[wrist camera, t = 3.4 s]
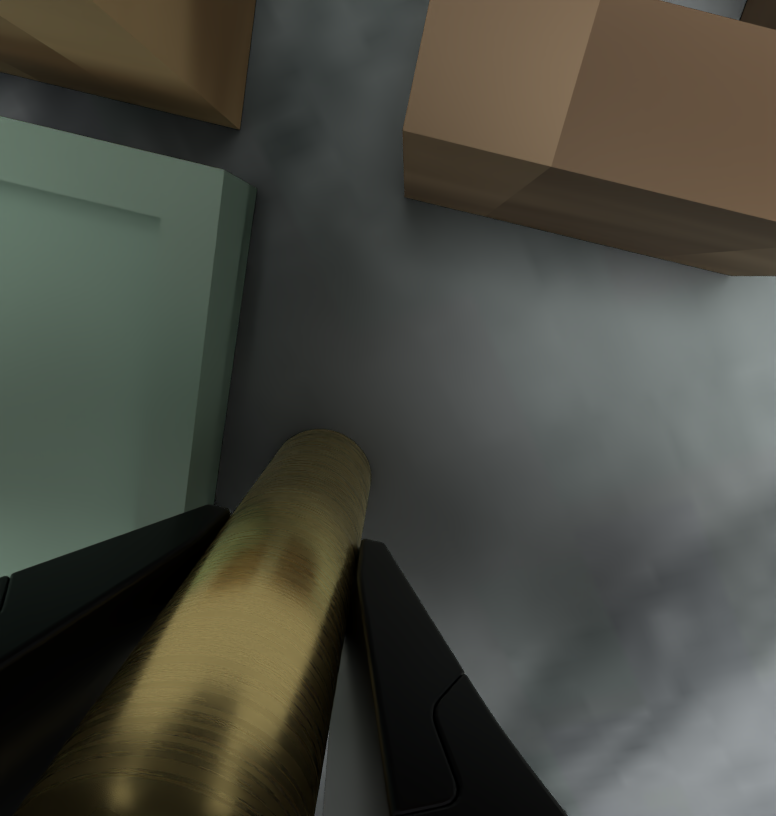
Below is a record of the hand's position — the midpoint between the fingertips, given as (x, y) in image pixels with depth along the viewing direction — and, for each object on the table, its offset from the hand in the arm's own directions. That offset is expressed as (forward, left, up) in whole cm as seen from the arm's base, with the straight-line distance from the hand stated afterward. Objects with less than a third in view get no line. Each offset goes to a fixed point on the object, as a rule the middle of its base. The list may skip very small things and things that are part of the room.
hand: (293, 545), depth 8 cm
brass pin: (0, 0, -3) cm, 3 cm away
